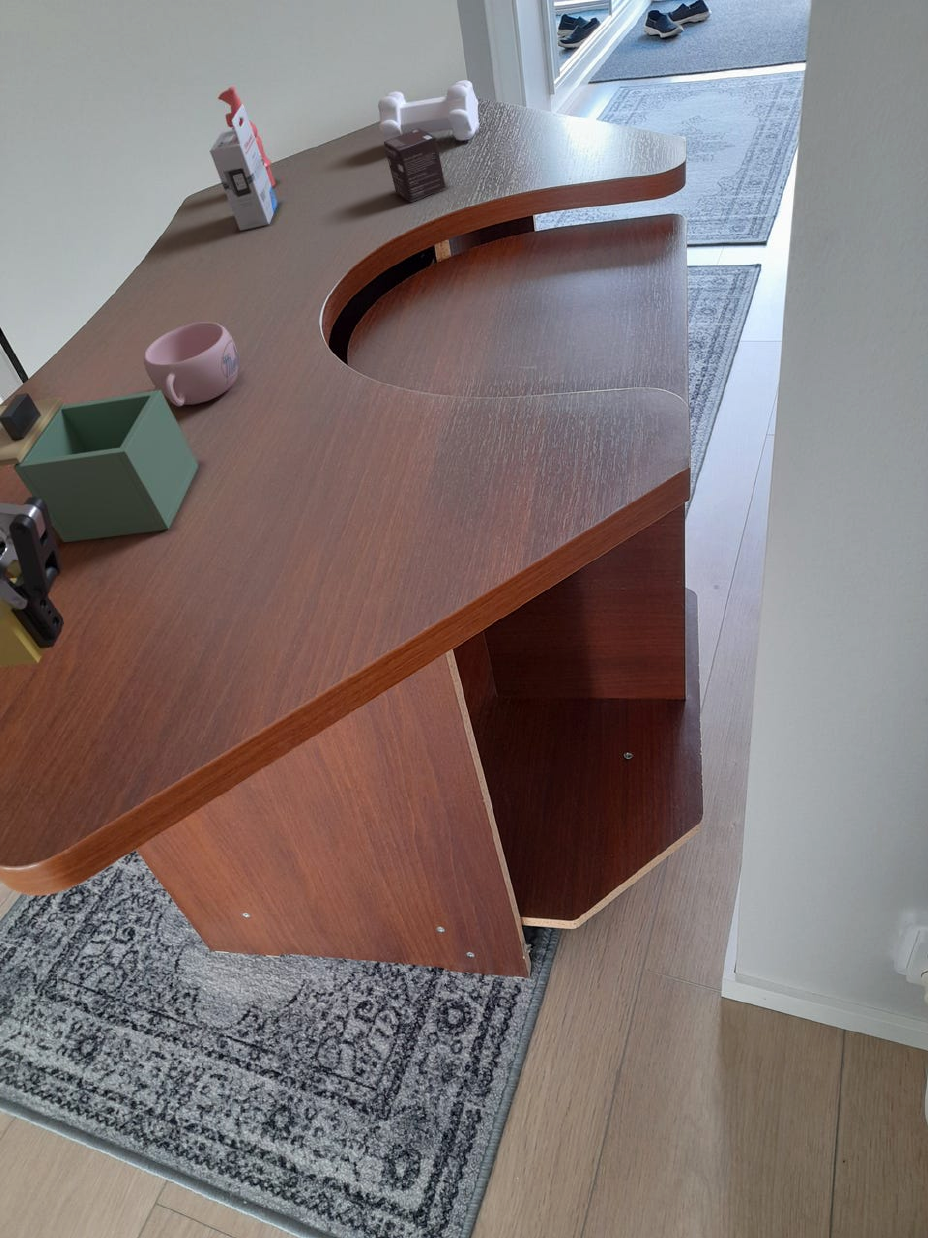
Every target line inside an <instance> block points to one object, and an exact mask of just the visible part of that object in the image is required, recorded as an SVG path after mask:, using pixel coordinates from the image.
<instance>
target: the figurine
mask: <svg viewBox="0 0 928 1238" xmlns="http://www.w3.org/2000/svg"><path fill="white" fill-rule="evenodd" d="M217 99H218V100H219V101H220V100H221V101H222V102H224V103H225V104H227V105H229V106H230V112H228V113H225V121H226V124H227V126H228V127H229V128H231V130H233V129H234V128H233V125H232V119H233V117H234V116H235V114H236V112H237V111H238V109H239V108H240V106H241V104H243V103H242V101H241V99H240V97H239V96H238V93H237V92H236V88H235V87H234V86H230V87H229V88H228V89H226V90H225V91H223V92H221V93H220V94H219V96H218V97H217ZM249 122H250V124H251V127H252V130H253V133H254V136H255V139H256V142H257V145H258V148H259V150H260V153H261V156H262V159H263V162H264V165H265V168H266V171H267V174H268V177H269V180H270V183H271V186H272V188H273V187H274V186H275V185H276V181H275V178H274V175H273V173H272V169H271V165H272V160H270V159H269V158H268V157H267V154H266V153H265V149H264V146H263V145H264V144H263V141H262V138H261V137H260V135H259V134H258V132H259V131H258V128H257V125H256V124H255V123H254V122H252V121H251V120H250V119H249ZM242 124H243V120H242V118H241V119H240V122H239V126H240V127H241V125H242Z"/></svg>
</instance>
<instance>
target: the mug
mask: <svg viewBox="0 0 928 1238" xmlns="http://www.w3.org/2000/svg"><path fill="white" fill-rule="evenodd" d="M143 365H144V368H145V372H146V374H147V376H148V377H149V379H150V381H151V383H152V385H153V386H154V387H155V388H156V389H157V390H161V391H162V393H163V395H164V397H165V398H167V399H169V400H170V402H171V403H172V404H173V405H174V406H177V407H182V406H185V405H186V406H187V405H188V406H189V405H197V404H198V405H199V404H201V403H205V402H209V401H211V400H213V399H215V398H217V397H219V396H221V395H223V394H224V393H226V392H227V391H228V390H230V389H231V387H232V386H234V384H235V382H236V380H237V377H238V375H239V355H238V350H237V346H236V343H235V341H234V339H233V337H232V335H231V334H230V332H229V331H228V330H227V328H226V327H225V326H223V325H222V324H219V323H216V322H212V321H203V322H194V323H189V324H186V325H183V326H179V327H177V328H174V329H173V330H170V331H168V332H166V333H164V334H162V335H161V336H159V337H158V338H157V339H155V340H154V341H153V342H151V344H150V345H149V346H148V347H147V348H146V350H145V352H144V355H143Z"/></svg>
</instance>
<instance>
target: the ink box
mask: <svg viewBox="0 0 928 1238" xmlns="http://www.w3.org/2000/svg"><path fill="white" fill-rule="evenodd" d="M241 118H242V120H243V124H242V125H241V127H240V126H239V122H240V119H241ZM249 120H250V119H249V116H248V113H247V110H246V108H245V105H244V104H243V103H242V104H241V106H240V108H239V109H238V111H237V112H236V114H235V116H234V117H233V119H232V125H233V127H232V128H234V129H233V130H232V129H229V130H225V131H224V130H223V131H221V133H220V134H219V136H218V138H216V140H215V142H214V143H213V144H212V147H211V149H210V150H209V154H210V156H211V158H212V161H213V163H214V166H215V168H216V172H217V174H218V176H219V179H220V183H221V184H222V187H223V190H224V192H225V194H226V198H227V200H228V203H229V205H230V208H231V210H232V213H233V216H234V219H235V221H236V223H237V227H238V228H239V231H246V230H251V229H255V228H261V227H263V226H269V225H270V224H271V221H272V219H273V216H274V214H275V211H276V209H277V207H278V201H277V197H276V194H275V192H274V189H273V187H272V186H271V183H270V180H269V177H268V174H267V171H266V168H265V165H264V162H263V159H262V156H261V153H260V150H259V148H258V145H257V142H256V139H255V136H254V133H253V130H252V127H251V124H250V122H249Z"/></svg>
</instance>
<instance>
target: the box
mask: <svg viewBox="0 0 928 1238" xmlns="http://www.w3.org/2000/svg"><path fill="white" fill-rule="evenodd" d="M383 145H384V148H385V153H386V157H387V158H386V159H387V162H388V165H389V170H390V175H391V178H392V182H393V186H394V190H395V193H396V194H397V195H398V196H400V197H401V198H403V199H404V200H406V201H407V202H409V203H413V202H417V201H419V200H421V199H423V198H426V197H428V196H431V195H433V194H437V193H439V192H443V191H445V190H446V189H447V185H446V182H445V176H444V172H443V166H442V162H441V157H440V152H439V146H438V142H437V137H436V136H435V135H433V134H430V132H429V133H428V132H426V131H423V130H421V129H416V130H413V131H411V132H408V133H406V134H403V135H400V136H398V137H395V138H392V139H390V140H387V141H386V140H384V141H383Z"/></svg>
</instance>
